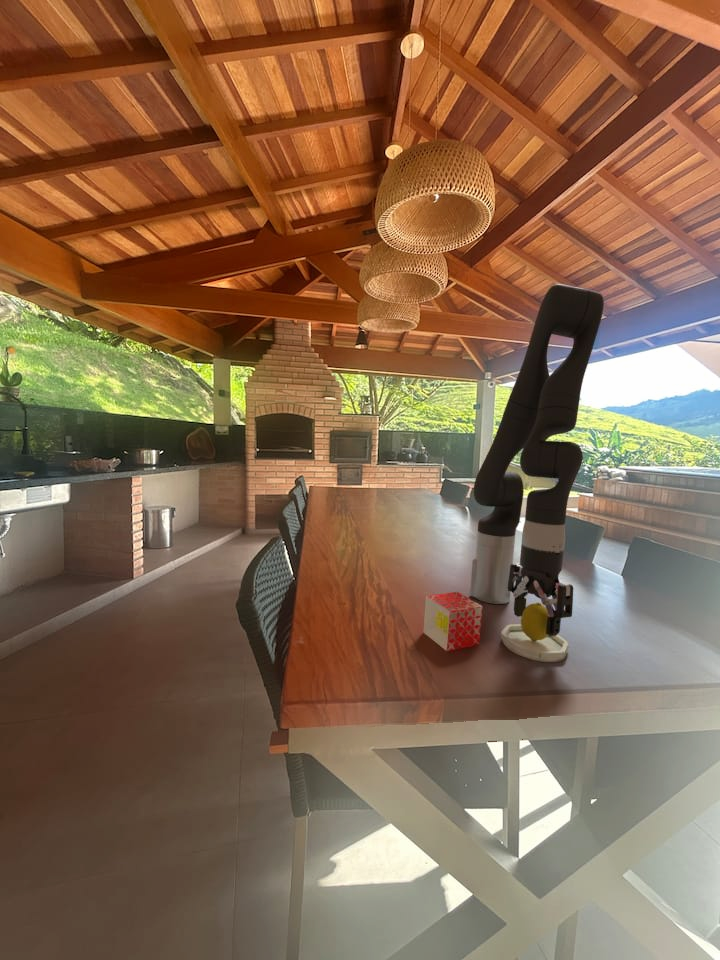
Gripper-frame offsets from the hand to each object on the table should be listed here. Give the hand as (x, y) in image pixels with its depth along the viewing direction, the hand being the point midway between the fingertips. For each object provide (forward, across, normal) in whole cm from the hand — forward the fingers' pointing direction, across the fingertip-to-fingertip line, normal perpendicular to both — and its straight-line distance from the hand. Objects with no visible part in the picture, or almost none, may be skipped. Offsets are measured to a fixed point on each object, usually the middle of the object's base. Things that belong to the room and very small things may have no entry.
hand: (534, 624), depth 79 cm
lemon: (+4, 0, 0) cm, 4 cm away
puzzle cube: (+5, -7, -14) cm, 17 cm away
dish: (+4, 0, 0) cm, 4 cm away
